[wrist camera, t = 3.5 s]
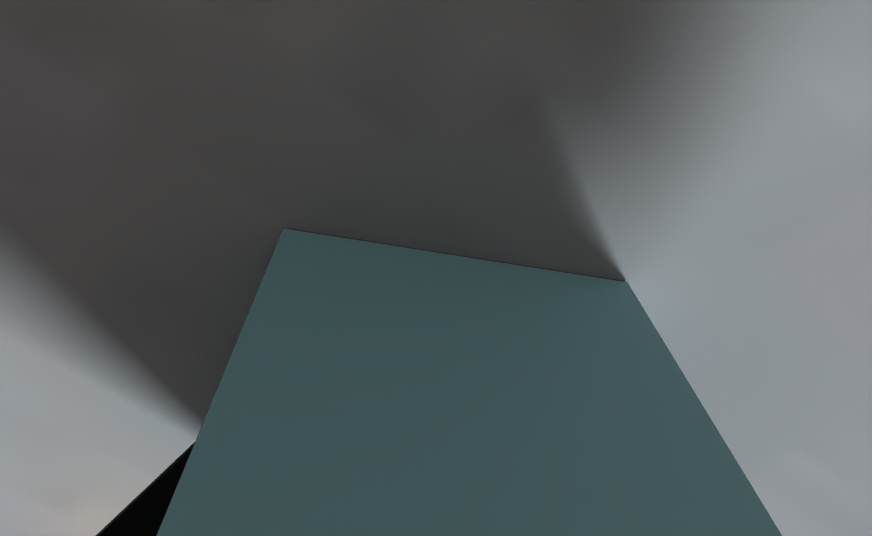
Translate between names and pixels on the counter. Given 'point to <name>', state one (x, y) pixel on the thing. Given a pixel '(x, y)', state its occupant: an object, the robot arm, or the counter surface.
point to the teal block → (453, 408)
